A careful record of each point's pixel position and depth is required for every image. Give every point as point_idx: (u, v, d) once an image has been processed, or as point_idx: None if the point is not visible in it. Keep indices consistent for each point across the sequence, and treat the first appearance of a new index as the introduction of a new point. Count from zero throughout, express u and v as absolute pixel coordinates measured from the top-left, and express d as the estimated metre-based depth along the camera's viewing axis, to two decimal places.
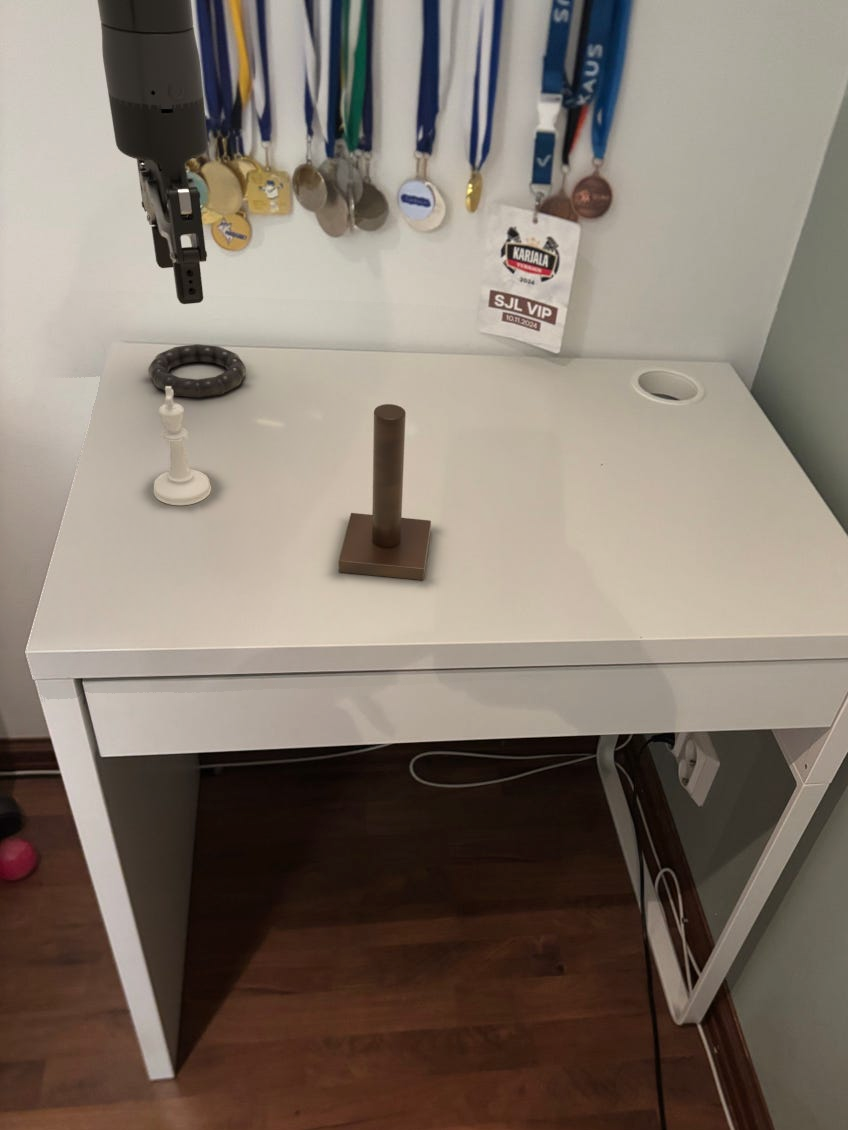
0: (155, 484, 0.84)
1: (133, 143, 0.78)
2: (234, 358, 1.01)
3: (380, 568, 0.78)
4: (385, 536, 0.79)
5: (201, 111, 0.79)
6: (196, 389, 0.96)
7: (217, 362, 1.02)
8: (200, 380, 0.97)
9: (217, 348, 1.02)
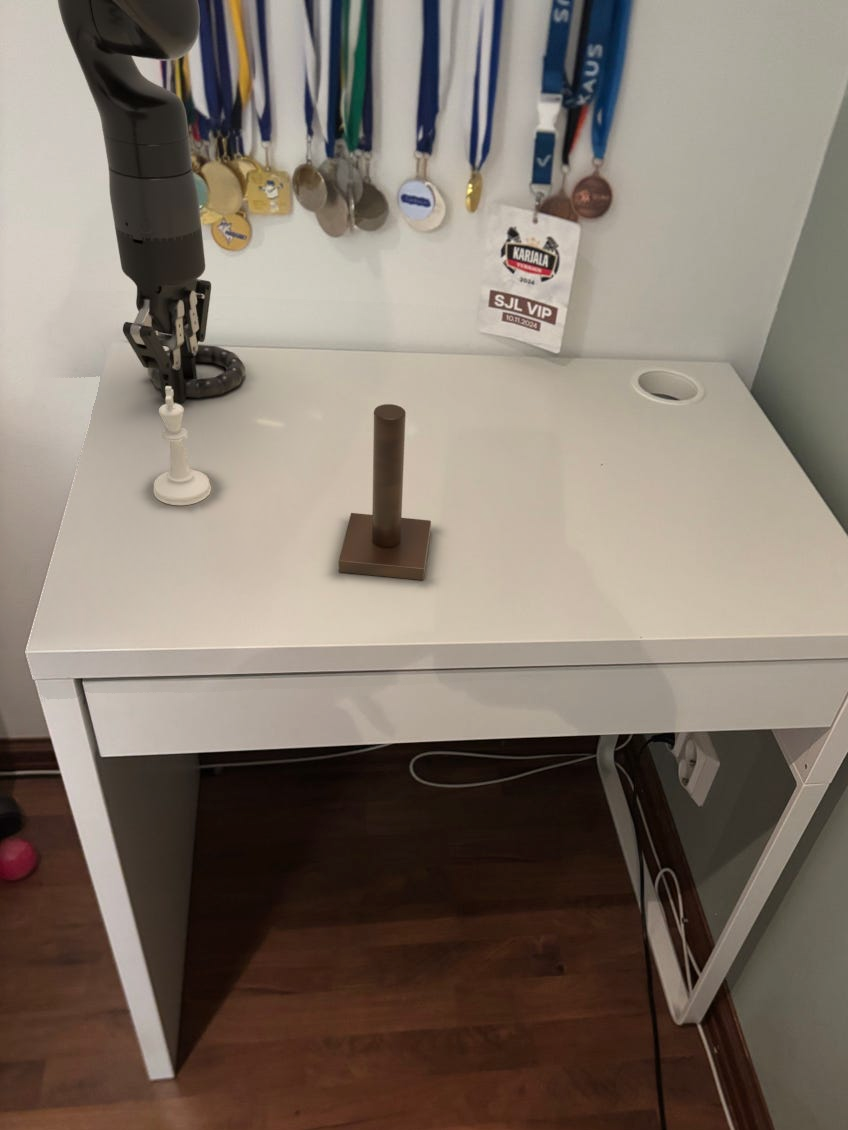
0: (155, 484, 0.84)
1: (121, 261, 0.87)
2: (234, 358, 1.01)
3: (380, 568, 0.78)
4: (385, 536, 0.79)
5: (180, 247, 0.85)
6: (196, 389, 0.96)
7: (216, 362, 1.02)
8: (200, 380, 0.97)
9: (216, 348, 1.02)
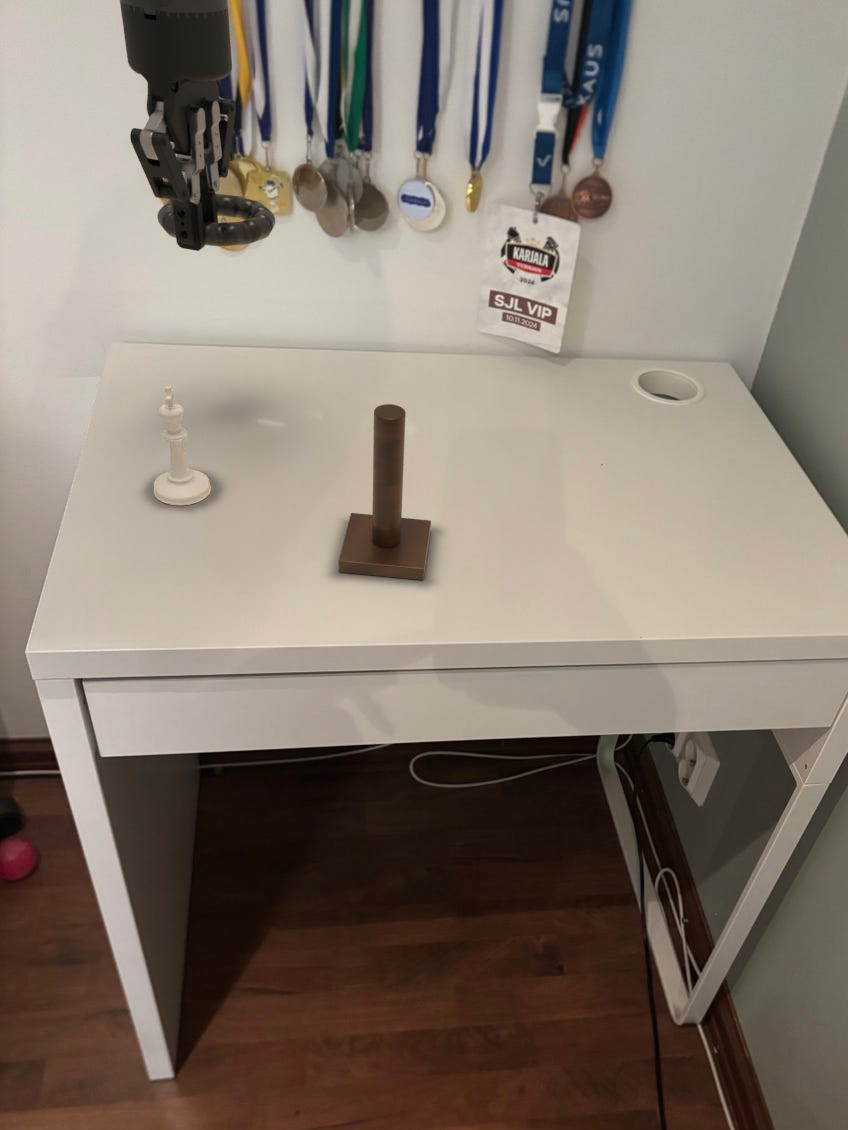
0: (155, 484, 0.84)
1: (127, 51, 0.69)
2: (261, 206, 0.83)
3: (380, 568, 0.78)
4: (385, 536, 0.79)
5: (203, 28, 0.68)
6: (218, 234, 0.79)
7: (239, 214, 0.85)
8: (222, 223, 0.79)
9: (239, 197, 0.85)
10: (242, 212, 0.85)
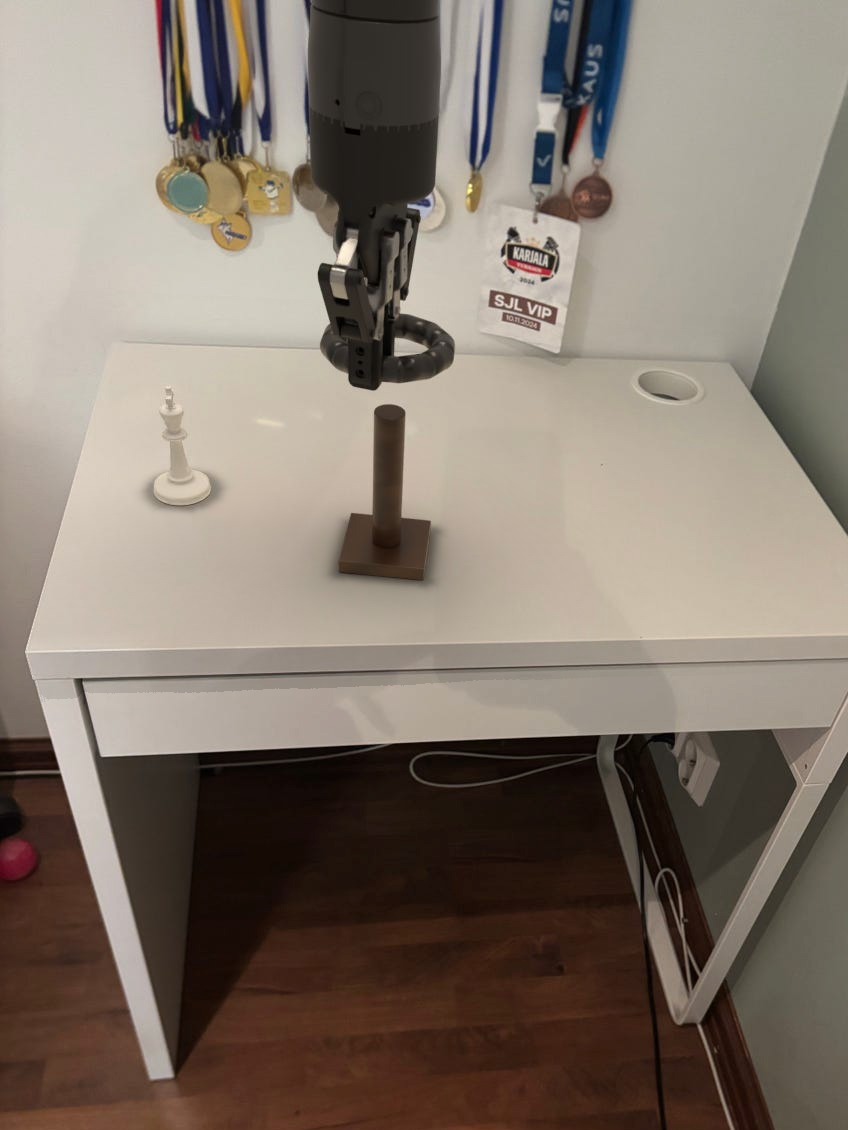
0: (155, 484, 0.84)
1: (314, 168, 0.56)
2: (439, 329, 0.70)
3: (380, 568, 0.78)
4: (385, 536, 0.79)
5: (415, 142, 0.54)
6: (398, 370, 0.65)
7: (409, 336, 0.71)
8: (402, 357, 0.66)
9: (409, 316, 0.71)
10: (413, 334, 0.71)
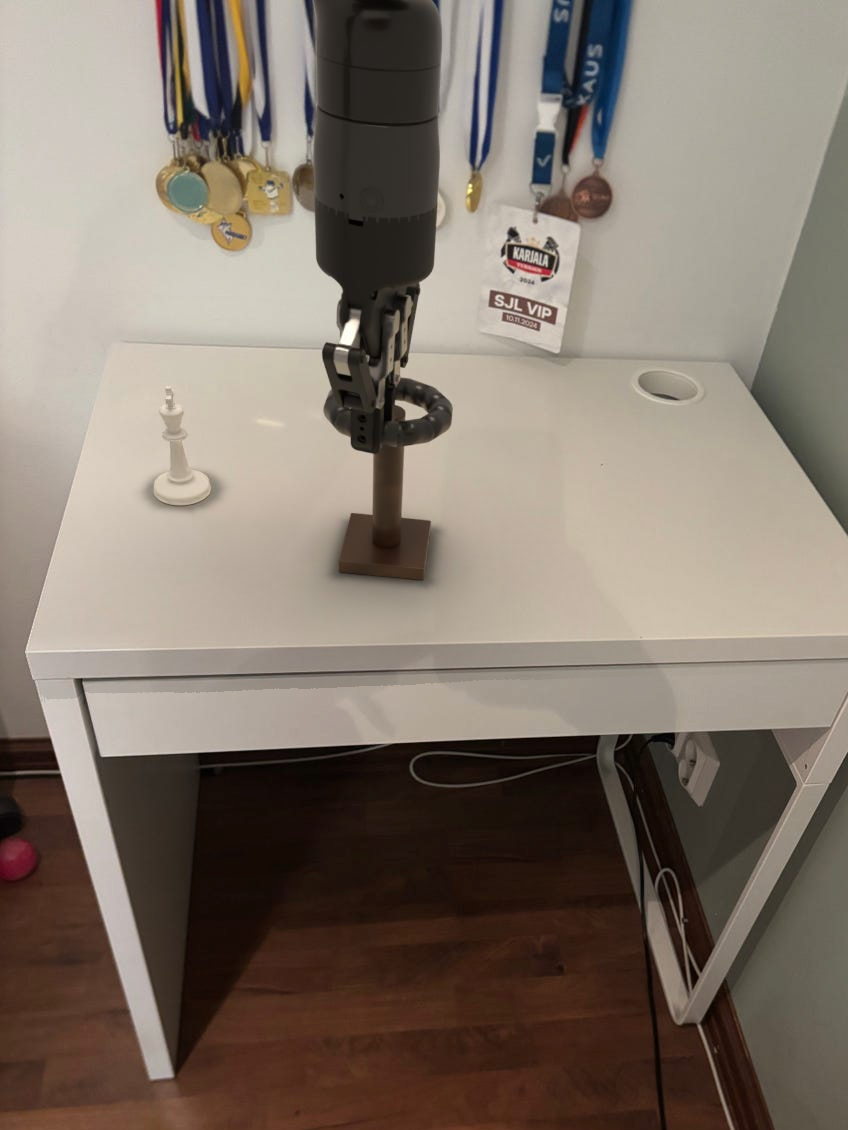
0: (155, 484, 0.84)
1: (319, 252, 0.59)
2: (437, 394, 0.73)
3: (380, 568, 0.78)
4: (385, 536, 0.79)
5: (414, 232, 0.57)
6: (399, 435, 0.68)
7: (409, 399, 0.75)
8: (402, 422, 0.69)
9: (409, 380, 0.75)
10: (413, 398, 0.74)
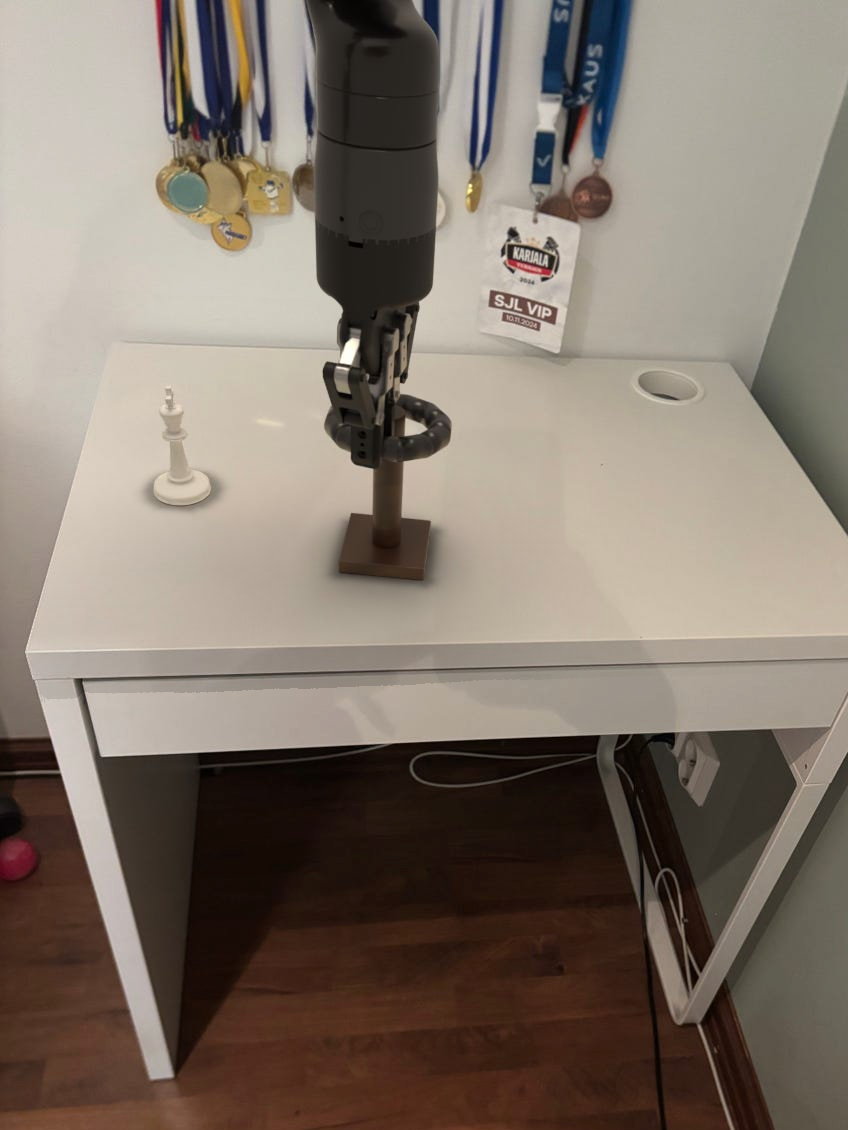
0: (155, 484, 0.84)
1: (320, 273, 0.60)
2: (437, 410, 0.74)
3: (380, 568, 0.78)
4: (385, 536, 0.79)
5: (414, 253, 0.58)
6: (398, 450, 0.69)
7: (408, 416, 0.76)
8: (402, 438, 0.70)
9: (408, 397, 0.75)
10: (412, 414, 0.75)
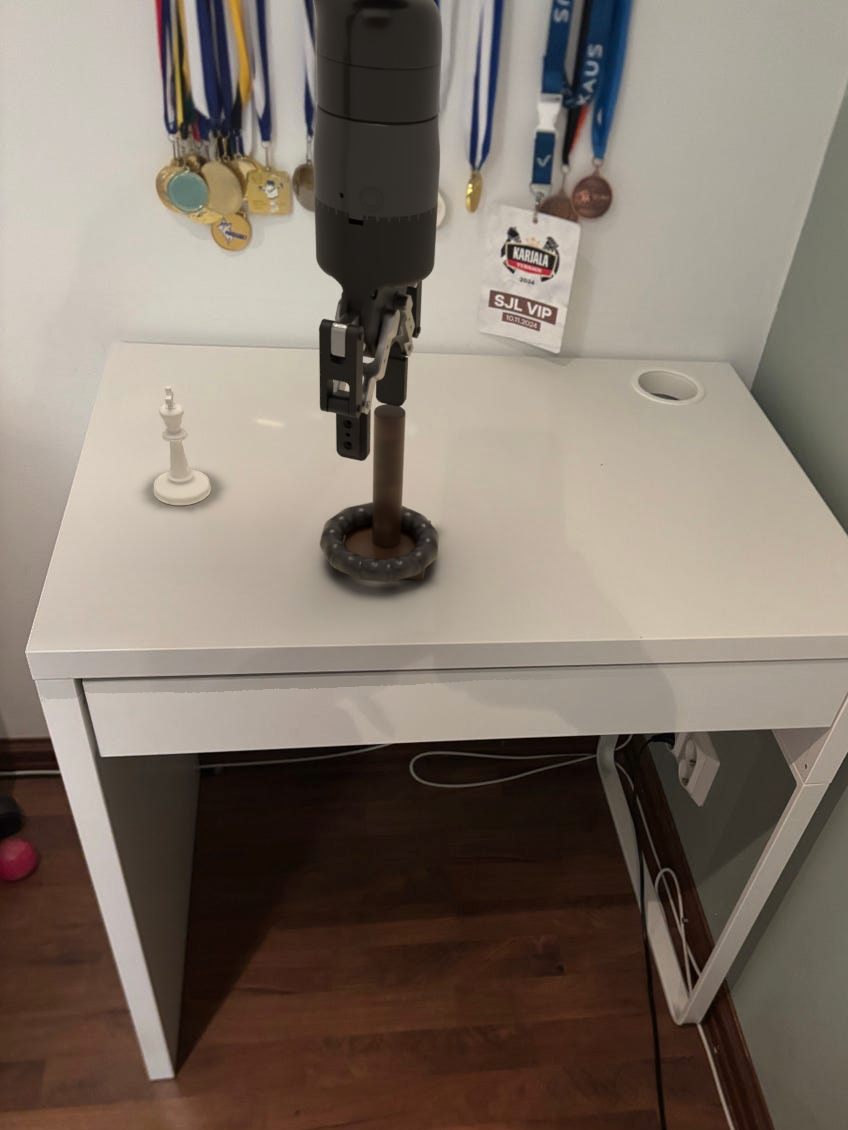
0: (155, 484, 0.84)
1: (319, 252, 0.59)
2: (425, 523, 0.79)
3: None
4: (385, 536, 0.79)
5: (415, 231, 0.57)
6: (387, 574, 0.75)
7: None
8: (391, 560, 0.75)
9: None
10: (403, 524, 0.81)
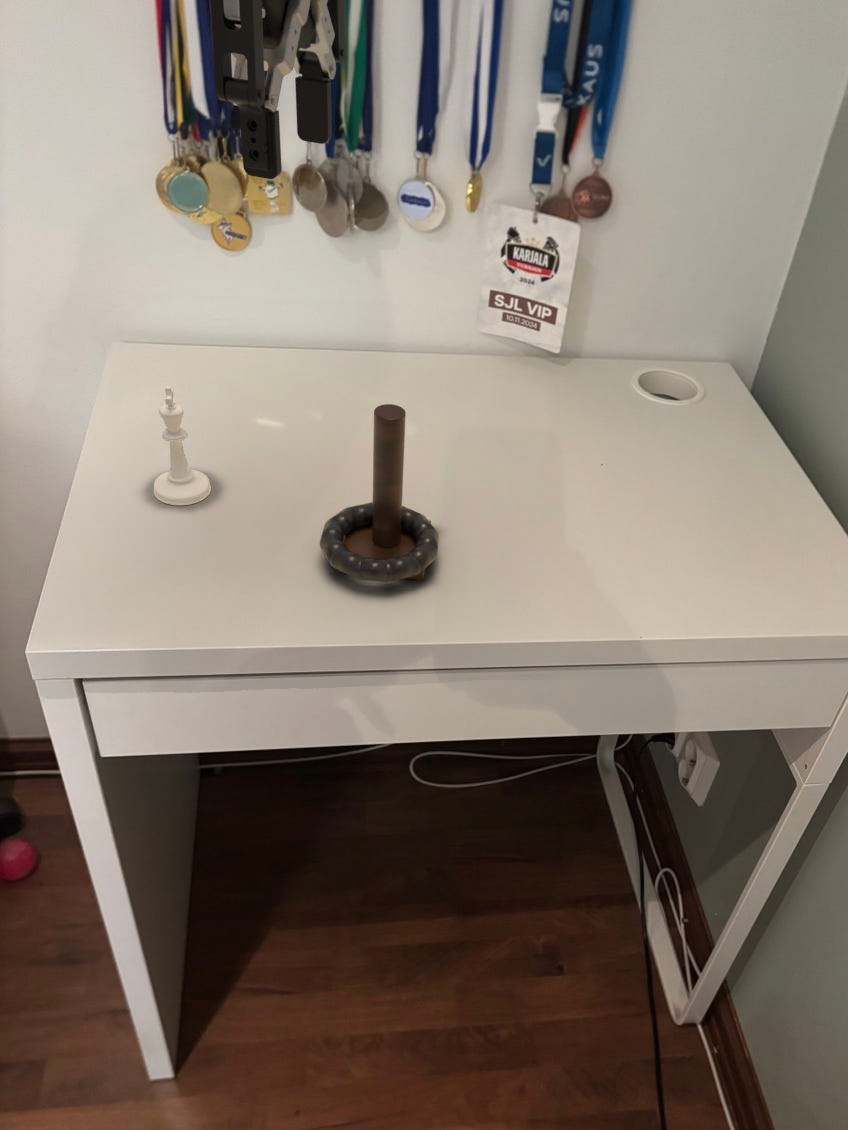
0: (155, 484, 0.84)
1: None
2: (425, 523, 0.79)
3: None
4: (385, 536, 0.79)
5: None
6: (387, 574, 0.75)
7: None
8: (391, 560, 0.75)
9: None
10: (403, 524, 0.81)
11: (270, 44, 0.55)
